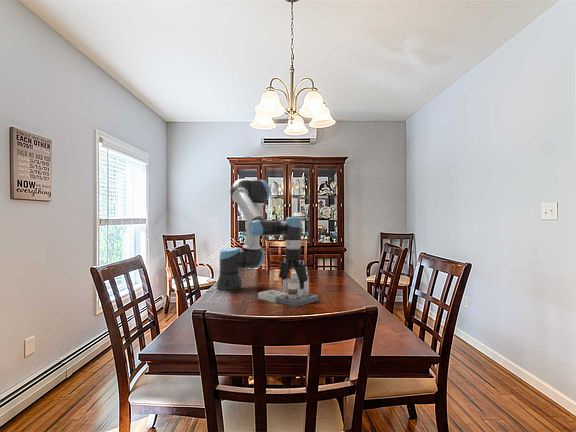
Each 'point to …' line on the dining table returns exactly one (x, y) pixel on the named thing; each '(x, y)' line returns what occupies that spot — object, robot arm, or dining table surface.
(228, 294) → the dining table surface
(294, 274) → the grey stepped block
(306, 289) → the fuse
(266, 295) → the parts tray
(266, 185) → the robot arm
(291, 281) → the fuse
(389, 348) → the dining table surface
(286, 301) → the fuse panel
